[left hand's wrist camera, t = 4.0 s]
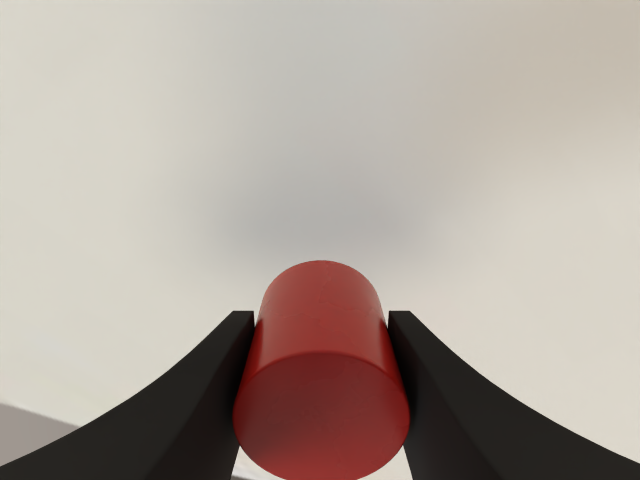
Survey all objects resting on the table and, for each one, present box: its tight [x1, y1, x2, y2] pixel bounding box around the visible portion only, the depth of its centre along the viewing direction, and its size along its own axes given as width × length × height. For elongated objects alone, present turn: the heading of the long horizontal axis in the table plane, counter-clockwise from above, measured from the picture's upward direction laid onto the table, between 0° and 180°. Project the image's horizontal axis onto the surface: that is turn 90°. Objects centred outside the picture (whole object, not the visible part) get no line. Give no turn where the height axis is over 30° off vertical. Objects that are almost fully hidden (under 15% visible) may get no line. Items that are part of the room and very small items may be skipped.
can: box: [232, 260, 411, 480], centre depth 10 cm, size 4×4×4 cm
